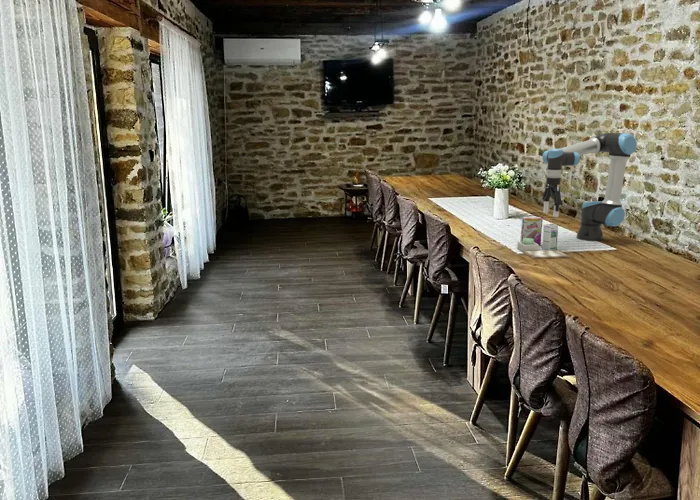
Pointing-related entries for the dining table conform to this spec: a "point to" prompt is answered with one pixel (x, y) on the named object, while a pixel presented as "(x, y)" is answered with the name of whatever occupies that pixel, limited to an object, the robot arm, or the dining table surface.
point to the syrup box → (550, 237)
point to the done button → (528, 241)
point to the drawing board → (546, 254)
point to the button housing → (527, 247)
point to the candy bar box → (531, 228)
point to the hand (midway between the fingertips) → (550, 214)
